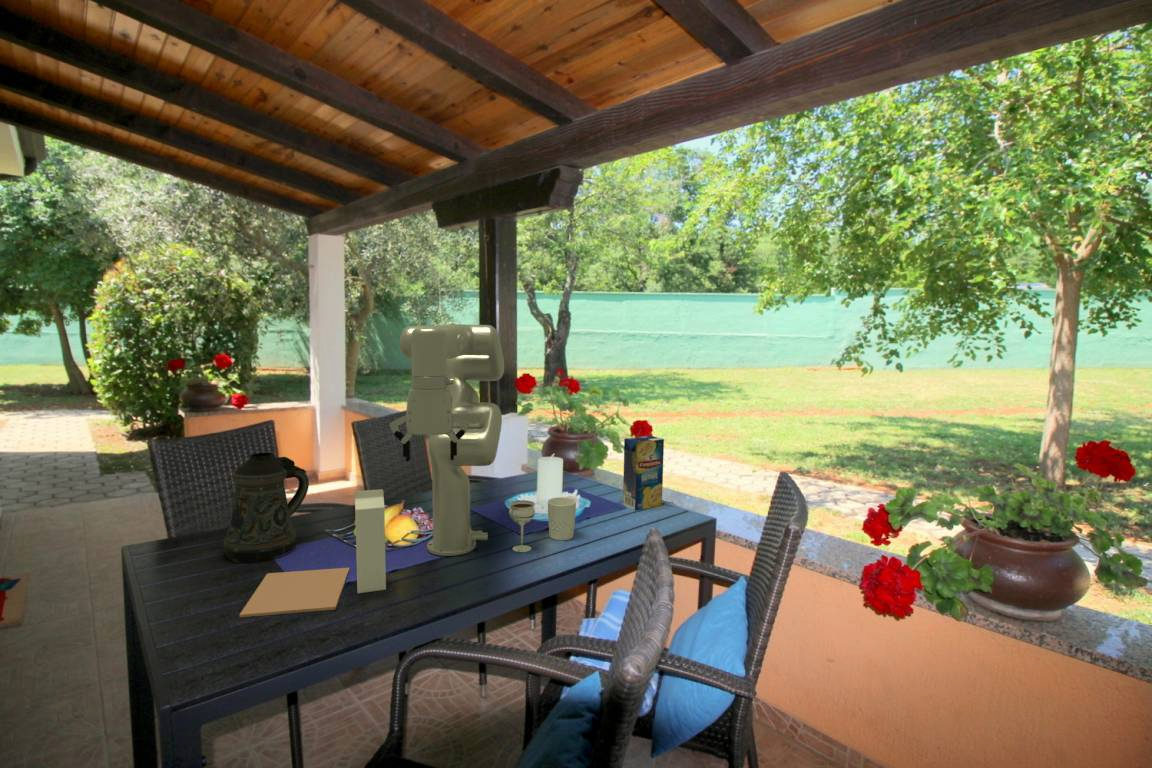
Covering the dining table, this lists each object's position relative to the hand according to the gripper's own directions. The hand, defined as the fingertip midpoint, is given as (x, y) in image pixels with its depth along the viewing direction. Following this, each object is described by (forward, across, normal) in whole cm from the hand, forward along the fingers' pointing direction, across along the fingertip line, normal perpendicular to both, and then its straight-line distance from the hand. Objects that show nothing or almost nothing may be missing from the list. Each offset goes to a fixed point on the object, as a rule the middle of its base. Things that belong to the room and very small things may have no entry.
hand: (430, 459), depth 135 cm
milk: (+29, +13, +1) cm, 31 cm away
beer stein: (+29, +43, -26) cm, 58 cm away
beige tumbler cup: (+28, -34, -24) cm, 51 cm away
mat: (+28, +28, +1) cm, 40 cm away
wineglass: (+28, -22, -17) cm, 40 cm away
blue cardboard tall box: (+28, -65, -48) cm, 86 cm away
